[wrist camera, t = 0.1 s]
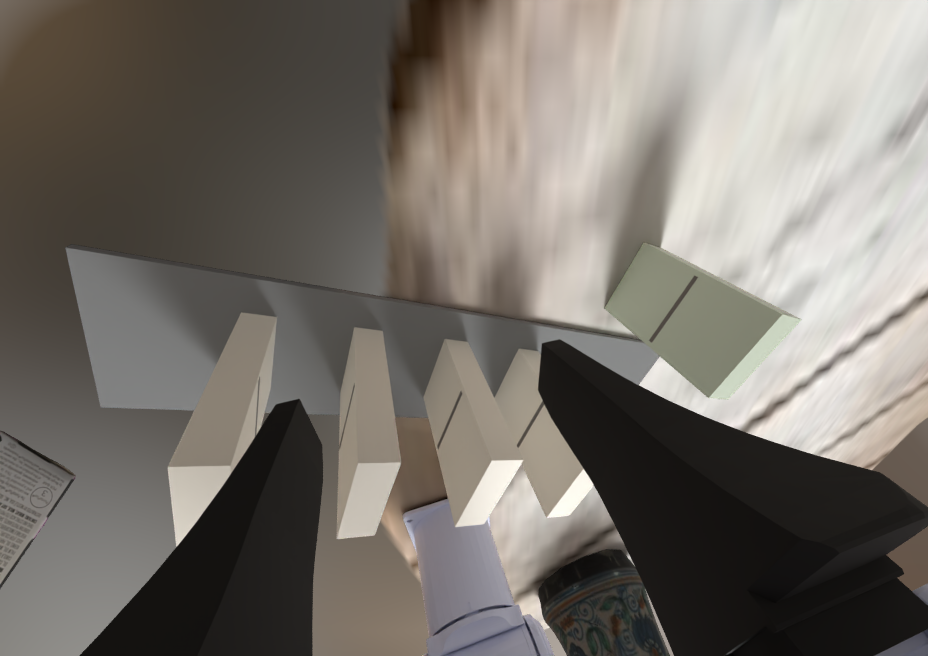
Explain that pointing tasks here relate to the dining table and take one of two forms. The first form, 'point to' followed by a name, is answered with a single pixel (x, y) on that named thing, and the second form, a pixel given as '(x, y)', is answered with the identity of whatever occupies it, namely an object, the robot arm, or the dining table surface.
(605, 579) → the beer stein
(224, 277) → the mat
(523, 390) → the domino
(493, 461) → the domino
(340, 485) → the domino
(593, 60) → the dining table surface
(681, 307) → the sage domino
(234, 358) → the domino
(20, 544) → the candy bar box
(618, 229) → the dining table surface
